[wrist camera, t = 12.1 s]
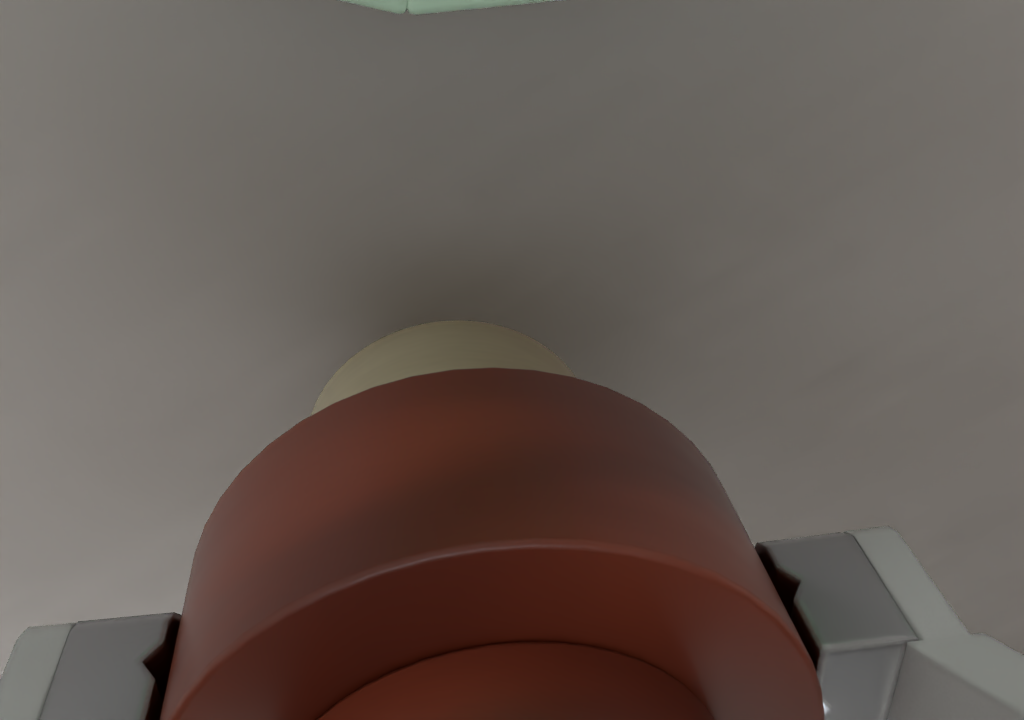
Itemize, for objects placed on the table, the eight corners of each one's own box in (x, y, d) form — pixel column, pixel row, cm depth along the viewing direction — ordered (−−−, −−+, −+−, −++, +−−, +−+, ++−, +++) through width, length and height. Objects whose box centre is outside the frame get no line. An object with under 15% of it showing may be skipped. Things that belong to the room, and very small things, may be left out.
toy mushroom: (675, 217, 12) (956, 610, 6) (657, 574, 15) (834, 1047, 10) (177, 265, 12) (0, 741, 6) (267, 625, 15) (209, 1161, 9)
